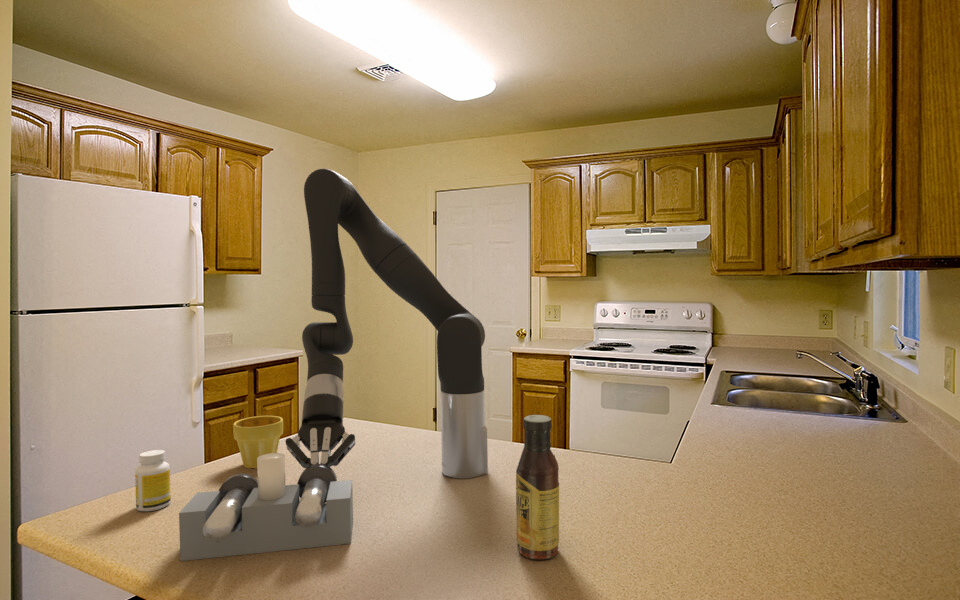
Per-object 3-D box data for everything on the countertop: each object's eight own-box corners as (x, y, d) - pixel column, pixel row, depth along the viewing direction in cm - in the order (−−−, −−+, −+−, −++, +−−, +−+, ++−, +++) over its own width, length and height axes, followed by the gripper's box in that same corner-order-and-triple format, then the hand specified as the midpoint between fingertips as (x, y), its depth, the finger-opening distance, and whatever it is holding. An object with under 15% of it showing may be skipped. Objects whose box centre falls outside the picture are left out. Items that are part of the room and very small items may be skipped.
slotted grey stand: (353, 521, 90) (352, 479, 90) (351, 543, 82) (350, 498, 82) (198, 536, 86) (197, 492, 86) (180, 561, 78) (178, 513, 78)
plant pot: (266, 472, 115) (265, 427, 115) (223, 470, 117) (222, 425, 117) (292, 457, 126) (291, 416, 125) (253, 455, 128) (252, 414, 127)
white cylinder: (287, 489, 86) (286, 452, 86) (283, 498, 82) (282, 459, 82) (261, 491, 86) (260, 454, 85) (255, 501, 82) (254, 461, 82)
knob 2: (337, 498, 94) (336, 462, 94) (330, 534, 80) (329, 491, 80) (299, 502, 93) (298, 465, 93) (285, 539, 79) (284, 495, 79)
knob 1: (262, 509, 90) (261, 471, 90) (241, 549, 76) (240, 504, 76) (220, 513, 89) (219, 474, 88) (192, 554, 75) (191, 508, 75)
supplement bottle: (177, 502, 100) (176, 449, 100) (151, 514, 95) (149, 458, 95) (155, 499, 102) (154, 447, 101) (128, 510, 97) (127, 456, 96)
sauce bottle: (513, 543, 82) (511, 412, 81) (554, 540, 82) (552, 411, 82) (520, 565, 75) (518, 423, 75) (564, 562, 76) (562, 421, 75)
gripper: (285, 393, 102) (274, 480, 90) (357, 390, 104) (356, 474, 92) (290, 415, 107) (281, 500, 95) (358, 411, 110) (358, 493, 98)
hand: (318, 487), depth 94 cm, fingers closed
